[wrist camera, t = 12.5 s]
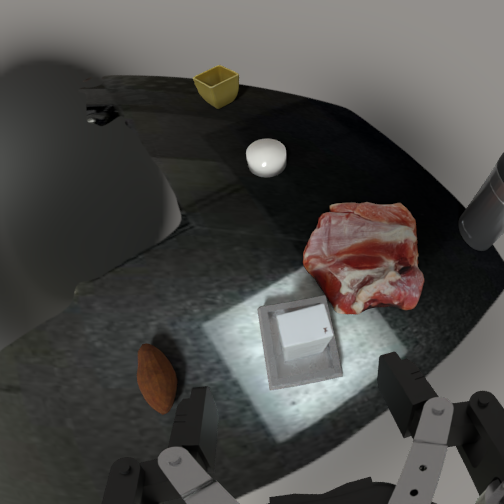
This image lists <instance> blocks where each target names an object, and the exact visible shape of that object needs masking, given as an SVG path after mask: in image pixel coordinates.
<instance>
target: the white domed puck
mask: <svg viewBox="0 0 504 504" xmlns="http://www.w3.org/2000/svg"><path fill="white" fill-rule="evenodd" d="M246 155H247V161H248V167H249V169H250V171H251V172H252V173H253V174H255V175H257V176H259V177H273V176H276V175H278V174H280V173H281V172H283V170H284V169H285V167H286V148H285V146H284V145H283V144H282V143H281V142H279V141H277V140H274V139H261V140H258V141H255V142H253V143H252V144H251V145H250V146H249V147H248V149H247V151H246Z"/></svg>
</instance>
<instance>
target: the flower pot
mask: <svg viewBox="0 0 504 504" xmlns="http://www.w3.org/2000/svg"><path fill="white" fill-rule="evenodd" d="M193 80H194V82H195V85H196V87H197V89H198V92H199V93H200V95H201V96H202V97H203V99H204V100H206V101H207V102H208V103H209V104H211V105H212V106H214V107H215V108H217V109H220V108H222V107H224V106H225V105H227V104H229V103H231V102H233V101H234V99H235V98H236V96H237V93H238V89H239V74H238V73H236V72H234V71H232V70H230V69H228V68H226V67H223V66H221V65H218V66H216V67H214V68H211V69H209V70H207V71H205V72H203V73H201V74H199V75H197V76H195V77H193Z"/></svg>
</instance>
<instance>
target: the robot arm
mask: <svg viewBox="0 0 504 504" xmlns="http://www.w3.org/2000/svg"><path fill="white" fill-rule="evenodd" d="M459 230H460V233H461V235H462V237H463V239H464V240H465V242H466V243H467V244H468V245H469V246H471V247H472V248H474V249H476V250H479V251H484V250H487V249H488V248H489V247H490V246H491V245H492V244H493V243H494V242H495V241H496V240H497V239H498V238H499V237H500V236H501V235H502V234H503V233H504V153H503V154H502V155H501V157H500V158H499V160H498V162H497V164H496V165H495V167H494V168H493V170H492V171H491V173H490V175H489V176H488V178H487V179H486V181H485V182H484V184H483V185H482V187H481V188H480V190H479V191H478V193H477V194H476V196H475V197H474V198H473V200H472V201H471V203H470V204H469V205H468V207H467V208H466V210H465V211H464V212H463V214H462V215H461V217H460V218H459ZM377 382H378V388H379V390H380V393H381V394H382V396H383V398H384V400H385V402H386V404H387V406H388V408H389V410H390V412H391V414H392V416H393V418H394V420H395V422H396V424H397V426H398V428H399V429H400V432H401V433H402V436H403V438H406V437H409V436H412V438H413V443H412V446H411V449H410V452H409V454H408V457H407V460H406V462H405V465H404V468H403V470H402V473H401V475H400V478H399V480H398V482H397V485H394V484H391V483H385V482H372V479H371V477H368V478H364V479H360V480H357V481H354V482H349V483H346V484H344V485H342V486H340V487H337V488H335V489H333V490H331V491H329V492H326V493H324V494H290V495H283V496H275V497H270V503H268V504H436V503H434V502H432V498H433V496H434V493H435V490H436V487H437V484H438V481H439V477H440V474H441V470H442V467H443V463H444V459H445V456H446V452H447V447H452V446H456V447H457V449H458V452H459V454H460V456H461V458H462V459H463V462H464V464H465V466H466V468H467V470H468V472H469V474H470V476H471V478H472V480H473V482H474V485H475V487H476V489H477V491H478V493H479V498H478V499H477V501H476V503H475V504H504V408H503V407H502V406H501V404H500V403H499V402H498V400H497V399H496V398H495V396H494V395H493V394H492V393H490V392H487V391H478V392H476V393H474V394H473V395H472V396H471V398H470V400H469V401H467V402H460V403H451V402H450V400H448V399H446V398H443V397H438V395H437V394H436V393H435V391H434V390H433V388H432V387H431V385H430V384H429V383H428V382H427V380H426V378H425V377H424V376H423V374H422V373H421V372H420V370H419V369H418V367H417V366H416V365H415V363H413V362H411V361H410V360H408V359H404V360H401V359H400V357H399V356H398V354H397V353H396V352H391V353H388V354H384V355H381V356H380V357H379V366H378V378H377ZM175 415H176V416H175V419H174V423H173V428H172V432H171V437H170V441H169V446H168V449H166V450H164V451H163V452H162V453H161V454H160V455H159V457H158V458H157V459H154V460H150V461H146V462H141V463H139V462H138V461H137V460H135V459H134V458H131V457H124V458H120V459H118V460H117V461H115V462H114V463H113V465H112V467H111V470H110V473H109V477H108V481H107V485H106V489H105V493H104V497H103V501H102V504H164V502H165V501H169V500H174V499H178V498H183V499H184V501H185V502H186V503H187V504H239V503H238V502H237V501H236V500H235V499H234V498H233V497H232V496H231V495H230V494H229V493H228V492H227V491H226V490H225V489H224V488H223V487H222V486H221V485H220V484H219V483H218V482H217V481H216V480H215V479H214V480H213V479H212V478H211V477H210V476H209V475H208V474H214V472H215V458H216V444H217V431H218V411H217V407H216V404H215V402H214V399H213V396H212V393H211V390H210V388H209V386H205V387H194V388H192V391H191V396H190V398H187V399H183V400H182V401H181V402H180V404H179V405H178V406H177V410H176V414H175Z"/></svg>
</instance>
